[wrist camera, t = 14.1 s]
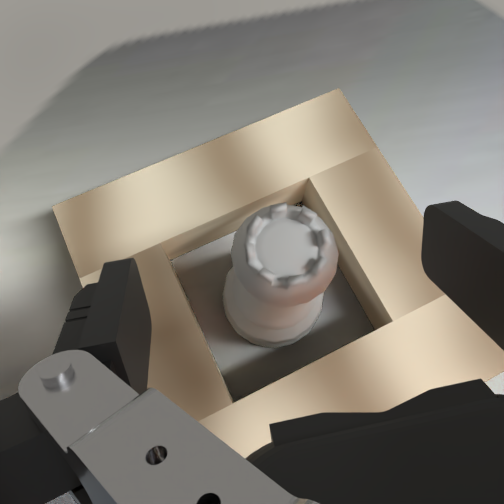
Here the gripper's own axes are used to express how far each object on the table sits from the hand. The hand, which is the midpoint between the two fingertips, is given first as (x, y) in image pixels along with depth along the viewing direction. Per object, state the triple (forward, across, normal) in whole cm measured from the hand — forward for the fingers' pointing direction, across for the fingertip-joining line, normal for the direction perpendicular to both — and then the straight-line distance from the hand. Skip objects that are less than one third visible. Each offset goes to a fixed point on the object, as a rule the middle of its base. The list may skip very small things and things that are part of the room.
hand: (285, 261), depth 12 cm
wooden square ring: (+6, 0, +5) cm, 8 cm away
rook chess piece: (+6, 0, +6) cm, 8 cm away
